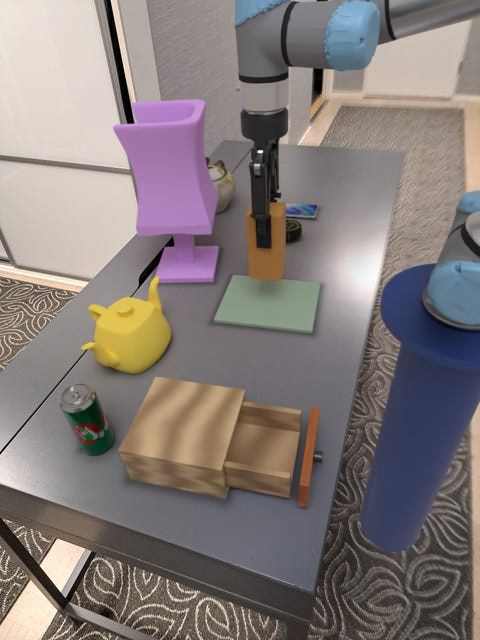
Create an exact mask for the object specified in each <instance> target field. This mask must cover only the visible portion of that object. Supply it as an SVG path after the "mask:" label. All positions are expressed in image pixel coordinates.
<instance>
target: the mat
mask: <svg viewBox="0 0 480 640" xmlns="http://www.w3.org/2000/svg"><path fill="white" fill-rule="evenodd" d="M321 285H322V282H321V281H320V282H318V281H309V280H308V281H307V280H298V279H288V278H287V279H285V278H282V280H281V281H272V280H262V279H251V278H249V275H244V274H243V275H242V274H233V275H232V277H231V278H230V281H229V283H228V285H227V288H226V289H225V292H224V295H223V297H222V299H221V302H220V304H219V306H218V309H217V311H216V313H215V315H214V318H213V323H215V324H224V325H234V326H241V327H242V326H244V327H249V328H250V327H251V328H260V329H267V330H275V331H276V330H277V331H284V332H285V331H286V332H294V333H302V334H303V333H304V334H313V331H314V326H315V319H316V314H317V308H318V303H319V297H320V292H321Z"/></svg>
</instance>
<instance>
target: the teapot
mask: <svg viewBox="0 0 480 640" xmlns="http://www.w3.org/2000/svg"><path fill="white" fill-rule="evenodd" d="M154 277H155V276H154ZM154 277H153V279H151V281H150V284H149V288H148V295H147V301H146V300H144V299H139V298H136V297H130V296H127V297H123V298H120V299H119V300H117V301H115V302H114V303H112V304H111V305H110V306H108V308H106V307H105V306H102V305H100V304H97V303H92V304H90V305H89V306H87V307H88V308H87V311H88V313H89V315H90V316H91V318H92V320H93V321H94V322H95V323H96V324H95V328H94V334H93V341H90V342H86V343H85V344H83V345H82V346H81V348H80V349H81V350H83V351H87V350H88V351H89V350H90V351H92V353H93V355H94V358H95V359H96V361H97V362H98V363H99V364H100V365H103V366H104V367H108V368H112V369H114V370H117V371H119V372H123V373H127V374H131V375H136V374H137V375H139V374H141V373H143V372H145V371H147V370H148V369H150V367H152V366H153V365H154V364H156V363H157V362H158V361H159V360H160V359H161V357H162V356H163V355H164V353H165V351H166V350H167V348H168V345H169V344H170V341H171V338H172V331H171V327H170V324H169V322H168V320H167V318H166V317H165V316H164V314H163V307H162V302H161V300H160V296H159V292H158V287H159V283H158V282H159V276H156V277H155V278H154Z"/></svg>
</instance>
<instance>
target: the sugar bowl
mask: <svg viewBox="0 0 480 640" xmlns="http://www.w3.org/2000/svg"><path fill="white" fill-rule="evenodd" d="M205 159H206V164H207V167H208V171H209V174H210V176H211V179H212V181H213V183H214V185H215V188H216V190H217V192H218V205H217V209H216V212H215V214H218V213H222V212H223V211H224V210H226V208H227V206H228V205H229V204H230V202H231V200H232V198H233V197H234V195H235V192H236V189H237V181H236V179H235V176H234V175H233V174H232V173H231V172H230V171H229V170H228V169H227V168H226V165H225V162H224V161H223V160H222V159H219V160H217V161H216V162H214V163H213V164H212V165H210V162H211V160H210V157H208V156H205Z"/></svg>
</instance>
